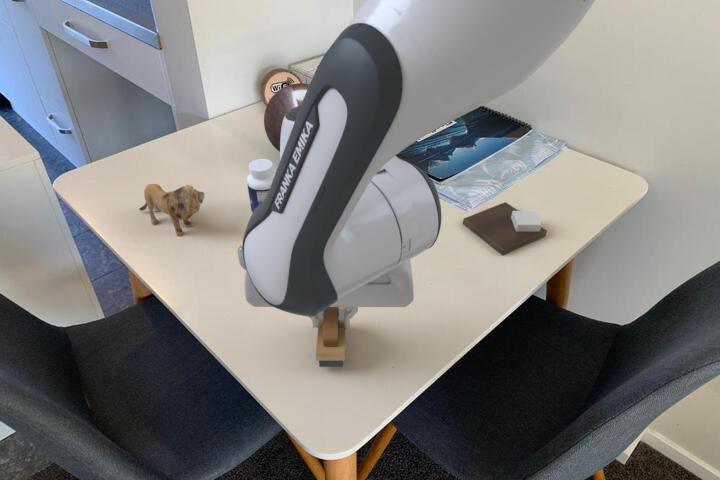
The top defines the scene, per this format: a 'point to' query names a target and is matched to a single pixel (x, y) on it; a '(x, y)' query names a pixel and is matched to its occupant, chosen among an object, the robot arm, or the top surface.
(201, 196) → the lion figurine
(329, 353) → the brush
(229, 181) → the top surface
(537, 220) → the chalk block
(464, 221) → the board
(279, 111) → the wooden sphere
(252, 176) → the pill bottle
